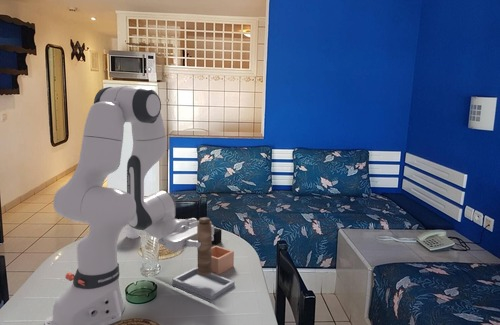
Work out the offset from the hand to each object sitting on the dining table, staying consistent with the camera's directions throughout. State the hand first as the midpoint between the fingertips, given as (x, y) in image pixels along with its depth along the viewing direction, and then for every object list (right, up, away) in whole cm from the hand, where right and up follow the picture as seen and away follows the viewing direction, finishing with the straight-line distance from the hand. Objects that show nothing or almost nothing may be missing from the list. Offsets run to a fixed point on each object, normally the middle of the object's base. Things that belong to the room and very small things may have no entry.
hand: (206, 241), depth 132 cm
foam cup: (-39, -7, +48) cm, 62 cm away
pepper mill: (-1, -11, +3) cm, 11 cm away
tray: (-1, -16, +3) cm, 17 cm away
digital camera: (-3, -9, +42) cm, 43 cm away
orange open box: (+2, -14, +16) cm, 21 cm away
